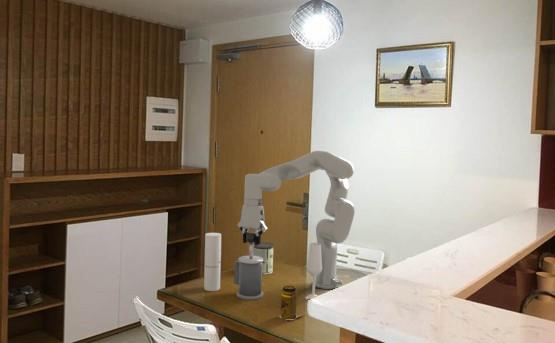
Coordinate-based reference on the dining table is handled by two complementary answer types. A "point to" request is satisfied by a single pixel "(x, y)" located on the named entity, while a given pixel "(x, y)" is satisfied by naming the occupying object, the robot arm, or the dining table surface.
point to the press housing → (249, 277)
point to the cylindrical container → (212, 261)
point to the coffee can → (265, 256)
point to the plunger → (250, 238)
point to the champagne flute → (314, 264)
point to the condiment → (288, 302)
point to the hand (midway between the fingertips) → (251, 243)
